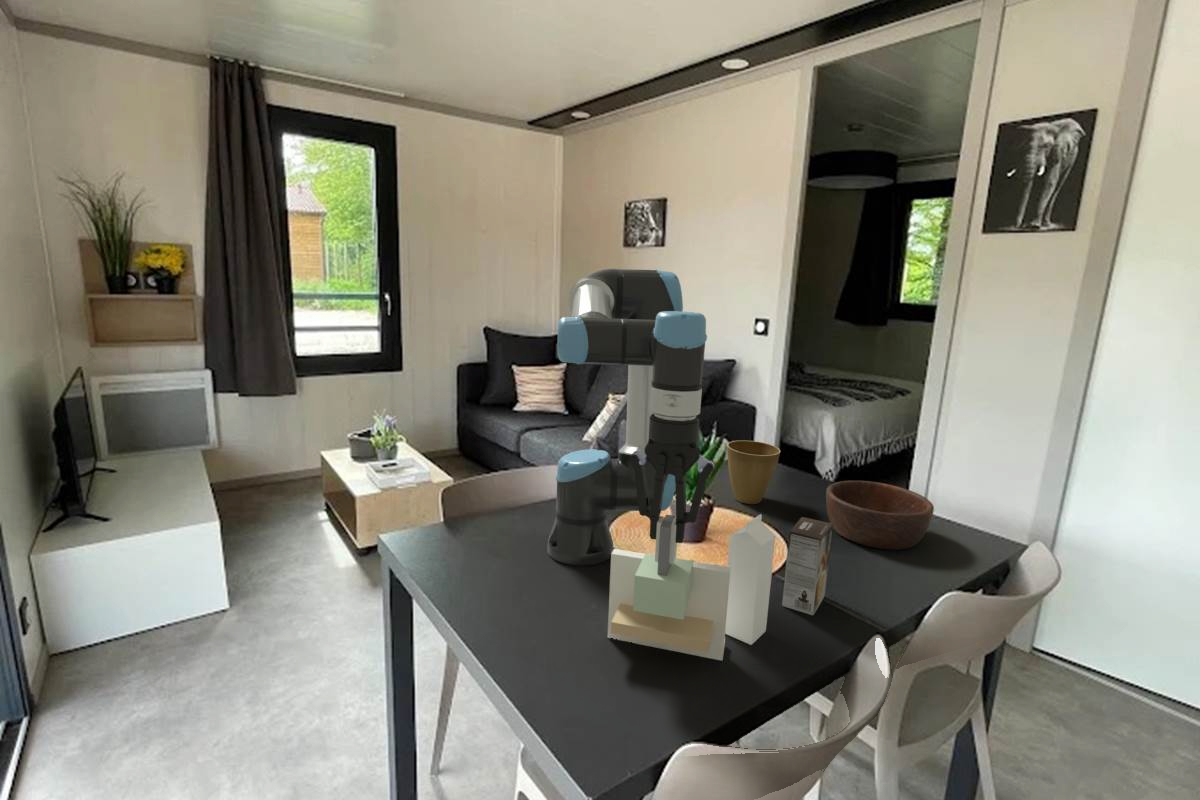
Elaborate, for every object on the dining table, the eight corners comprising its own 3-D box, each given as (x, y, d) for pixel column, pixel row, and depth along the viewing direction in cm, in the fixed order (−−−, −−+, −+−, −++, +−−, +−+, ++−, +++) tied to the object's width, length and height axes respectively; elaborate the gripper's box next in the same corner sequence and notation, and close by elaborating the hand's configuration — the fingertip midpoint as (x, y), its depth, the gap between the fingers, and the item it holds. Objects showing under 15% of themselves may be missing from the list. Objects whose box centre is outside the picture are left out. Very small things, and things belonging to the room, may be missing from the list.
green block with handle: (633, 610, 95) (637, 527, 92) (643, 586, 103) (648, 508, 100) (683, 619, 93) (689, 535, 90) (690, 594, 100) (696, 515, 98)
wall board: (598, 657, 101) (601, 569, 98) (613, 624, 111) (617, 542, 108) (719, 683, 96) (727, 590, 93) (724, 645, 106) (731, 560, 103)
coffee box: (793, 587, 127) (801, 515, 124) (825, 596, 124) (834, 523, 120) (780, 606, 119) (789, 530, 116) (814, 616, 116) (823, 538, 113)
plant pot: (727, 508, 170) (732, 453, 166) (719, 489, 184) (723, 439, 181) (780, 510, 169) (786, 455, 166) (768, 492, 184) (773, 441, 181)
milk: (766, 631, 111) (778, 518, 106) (751, 646, 106) (763, 528, 102) (735, 618, 114) (746, 508, 110) (720, 632, 110) (731, 518, 105)
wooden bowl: (832, 549, 146) (837, 509, 144) (815, 511, 170) (819, 476, 168) (943, 561, 142) (950, 520, 140) (909, 520, 166) (915, 484, 164)
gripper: (622, 415, 90) (615, 562, 95) (721, 425, 86) (709, 577, 91) (633, 405, 97) (626, 542, 102) (725, 414, 93) (714, 556, 98)
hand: (665, 558), depth 96 cm, fingers closed on green block with handle, 1 cm apart
